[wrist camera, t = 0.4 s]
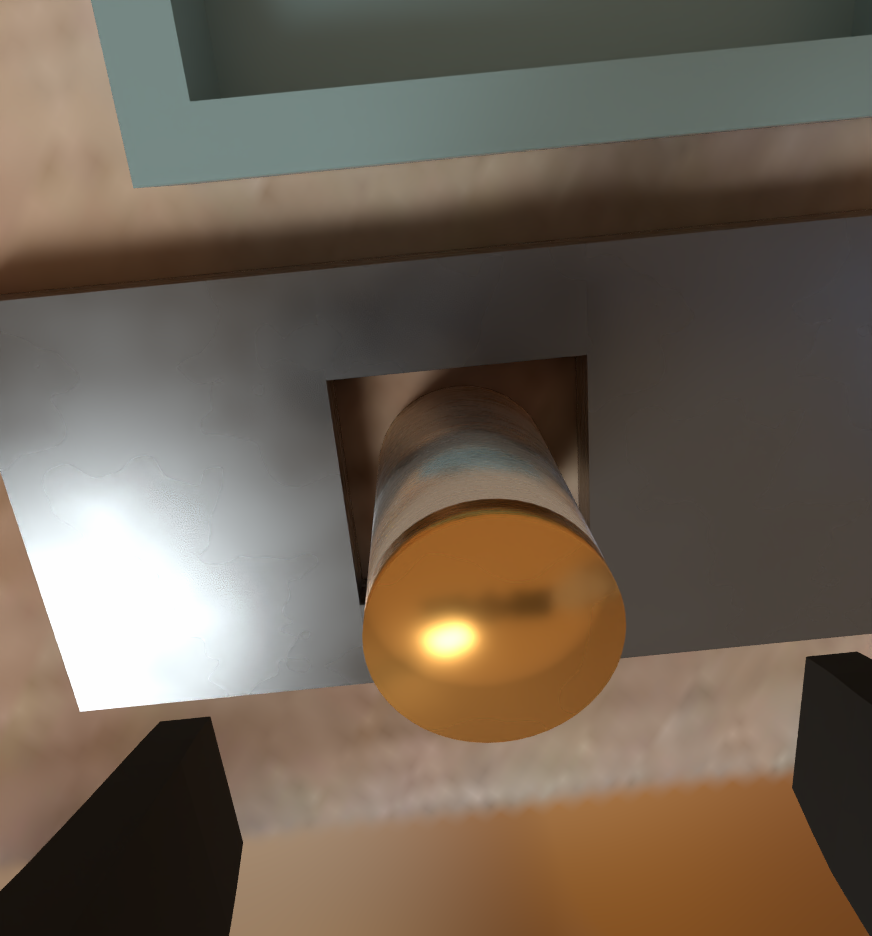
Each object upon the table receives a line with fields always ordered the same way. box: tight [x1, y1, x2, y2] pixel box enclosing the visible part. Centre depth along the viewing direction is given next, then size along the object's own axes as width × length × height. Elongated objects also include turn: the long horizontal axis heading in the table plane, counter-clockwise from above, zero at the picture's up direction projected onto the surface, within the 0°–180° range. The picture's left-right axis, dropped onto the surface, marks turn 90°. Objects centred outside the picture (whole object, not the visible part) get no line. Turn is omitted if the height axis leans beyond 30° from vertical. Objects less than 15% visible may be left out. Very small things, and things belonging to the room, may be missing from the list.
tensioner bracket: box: [0, 209, 872, 711], centre depth 17 cm, size 20×10×1 cm, turn 95°
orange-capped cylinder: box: [362, 386, 626, 743], centre depth 15 cm, size 4×4×7 cm
